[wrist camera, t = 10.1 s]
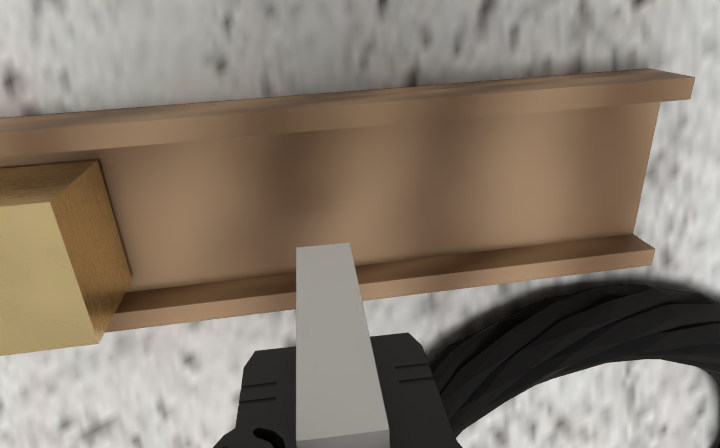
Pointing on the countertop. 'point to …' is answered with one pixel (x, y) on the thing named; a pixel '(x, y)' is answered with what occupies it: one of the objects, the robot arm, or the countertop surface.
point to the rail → (365, 186)
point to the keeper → (57, 257)
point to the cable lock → (574, 344)
